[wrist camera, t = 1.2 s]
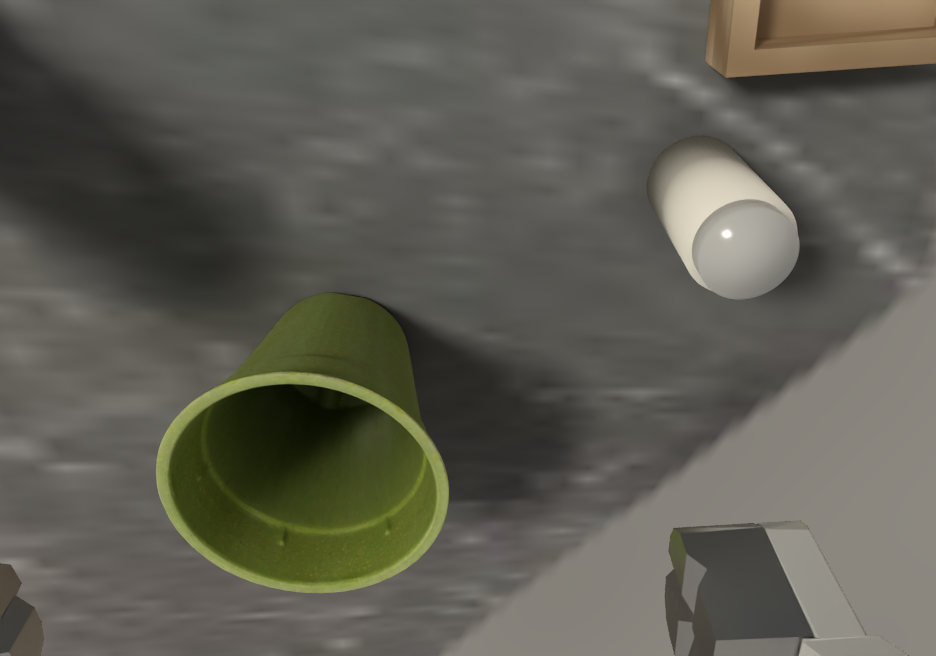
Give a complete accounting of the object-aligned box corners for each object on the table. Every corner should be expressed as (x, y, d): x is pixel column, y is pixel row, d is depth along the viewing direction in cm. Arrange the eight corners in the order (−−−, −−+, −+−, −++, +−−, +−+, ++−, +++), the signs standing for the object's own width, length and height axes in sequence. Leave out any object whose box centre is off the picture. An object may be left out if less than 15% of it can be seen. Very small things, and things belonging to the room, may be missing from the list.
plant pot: (494, 315, 39) (505, 460, 30) (384, 462, 45) (363, 626, 35) (287, 202, 36) (224, 324, 26) (194, 375, 41) (113, 529, 32)
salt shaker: (649, 139, 35) (696, 205, 28) (746, 132, 35) (816, 197, 28) (644, 227, 37) (686, 309, 30) (735, 221, 37) (797, 302, 30)
